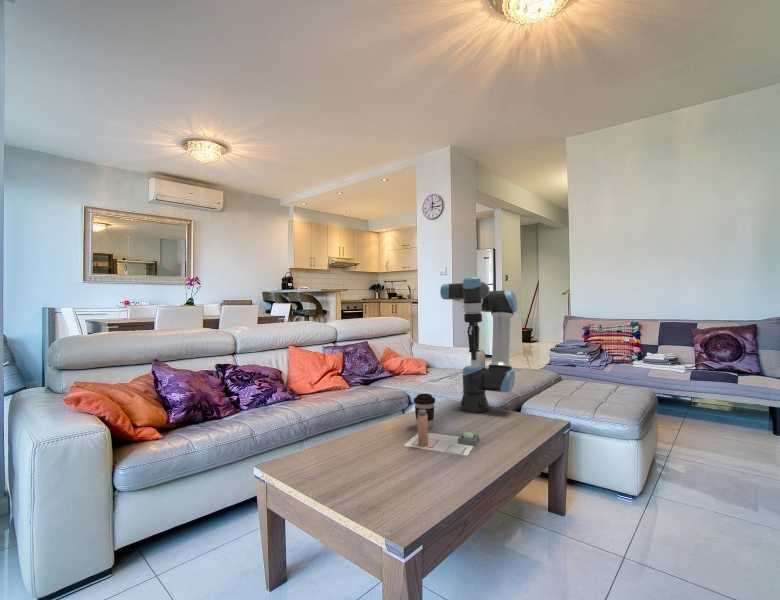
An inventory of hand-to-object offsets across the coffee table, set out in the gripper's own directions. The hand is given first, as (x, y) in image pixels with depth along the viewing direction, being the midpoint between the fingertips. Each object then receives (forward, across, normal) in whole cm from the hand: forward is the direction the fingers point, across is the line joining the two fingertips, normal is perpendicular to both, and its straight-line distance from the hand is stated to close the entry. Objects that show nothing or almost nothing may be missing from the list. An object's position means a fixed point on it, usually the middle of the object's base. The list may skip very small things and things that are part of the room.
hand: (474, 366), depth 165 cm
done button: (+29, +13, -1) cm, 32 cm away
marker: (+28, +22, -17) cm, 40 cm away
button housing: (+28, +13, -1) cm, 31 cm away
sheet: (+29, +18, -11) cm, 35 cm away
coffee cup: (+29, +2, -24) cm, 38 cm away
